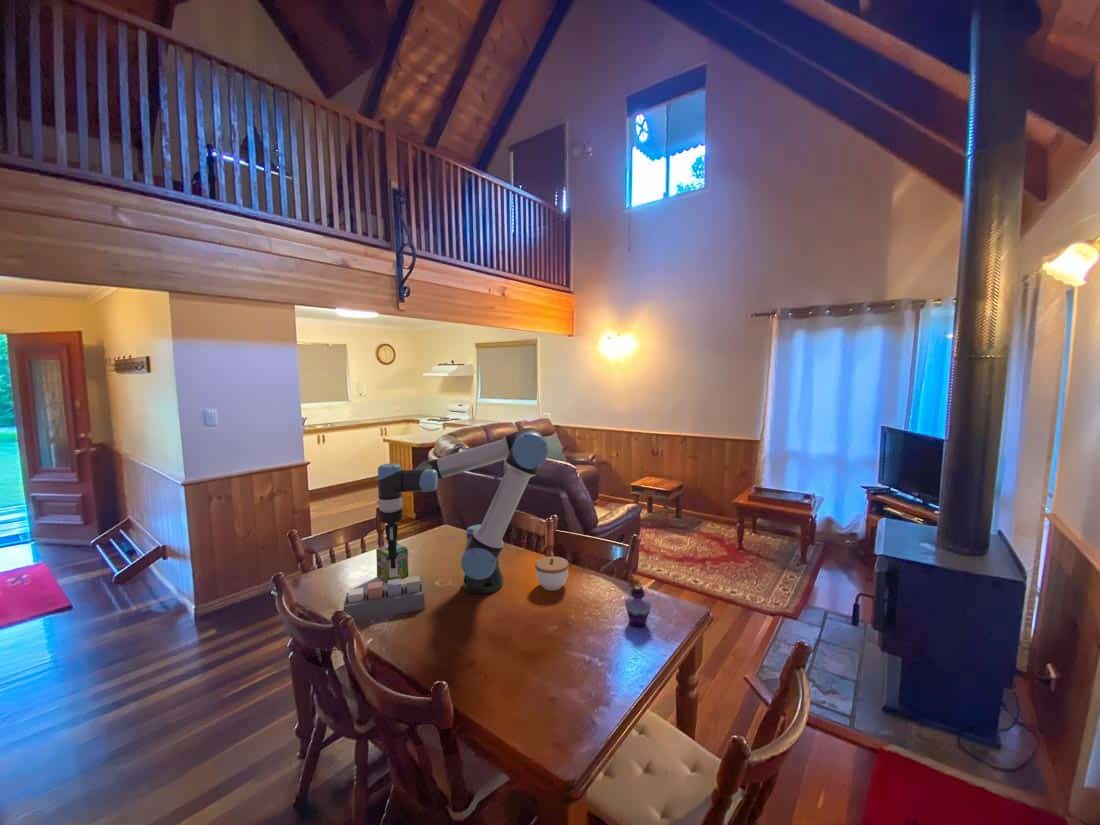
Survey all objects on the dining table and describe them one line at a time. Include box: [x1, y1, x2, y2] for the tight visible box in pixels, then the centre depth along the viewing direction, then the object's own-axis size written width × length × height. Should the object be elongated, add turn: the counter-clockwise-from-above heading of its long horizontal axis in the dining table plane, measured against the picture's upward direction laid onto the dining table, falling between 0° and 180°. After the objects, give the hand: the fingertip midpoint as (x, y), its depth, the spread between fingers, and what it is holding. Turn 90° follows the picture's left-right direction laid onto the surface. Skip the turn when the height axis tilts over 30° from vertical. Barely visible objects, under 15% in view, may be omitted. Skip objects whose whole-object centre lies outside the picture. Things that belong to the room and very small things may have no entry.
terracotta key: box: [367, 580, 384, 600], centre depth 156 cm, size 4×4×5 cm
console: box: [343, 580, 426, 622], centre depth 158 cm, size 25×10×6 cm, turn 108°
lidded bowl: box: [534, 555, 570, 592], centre depth 172 cm, size 13×13×11 cm
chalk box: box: [376, 540, 410, 584], centre depth 182 cm, size 9×9×15 cm
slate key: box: [386, 578, 402, 597], centre depth 158 cm, size 4×4×5 cm
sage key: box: [405, 575, 421, 594], centre depth 160 cm, size 4×4×5 cm
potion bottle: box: [624, 585, 652, 629], centre depth 146 cm, size 9×9×12 cm
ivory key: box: [348, 587, 364, 603], centre depth 155 cm, size 4×4×5 cm
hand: (393, 575), depth 158 cm, fingers closed
